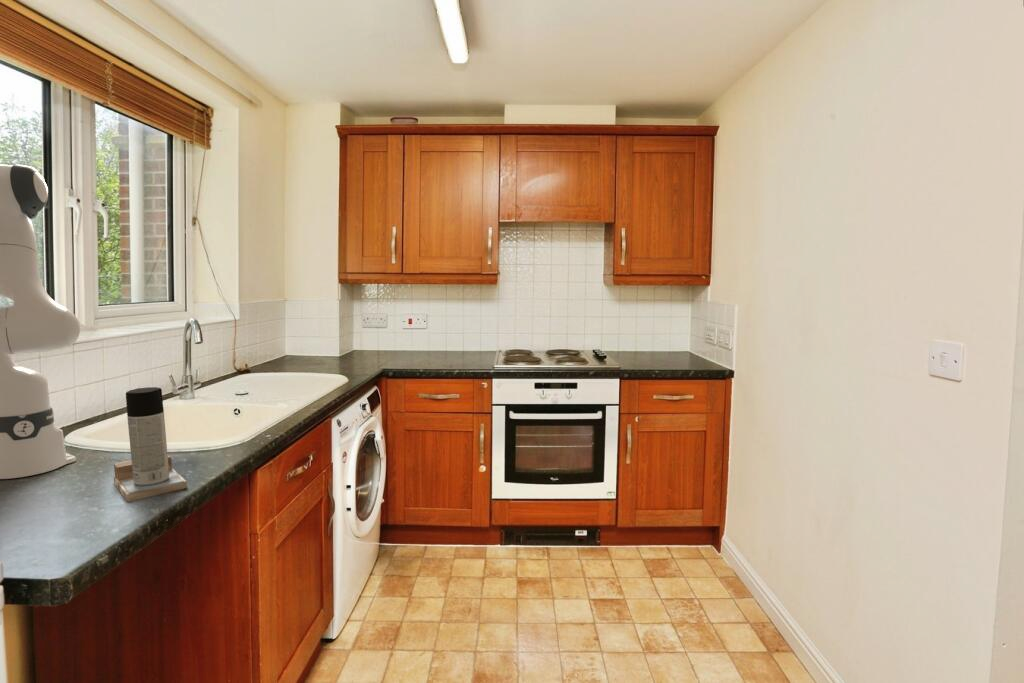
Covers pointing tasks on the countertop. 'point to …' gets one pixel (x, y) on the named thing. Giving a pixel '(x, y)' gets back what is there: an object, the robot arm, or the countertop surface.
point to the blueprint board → (135, 492)
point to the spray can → (147, 436)
